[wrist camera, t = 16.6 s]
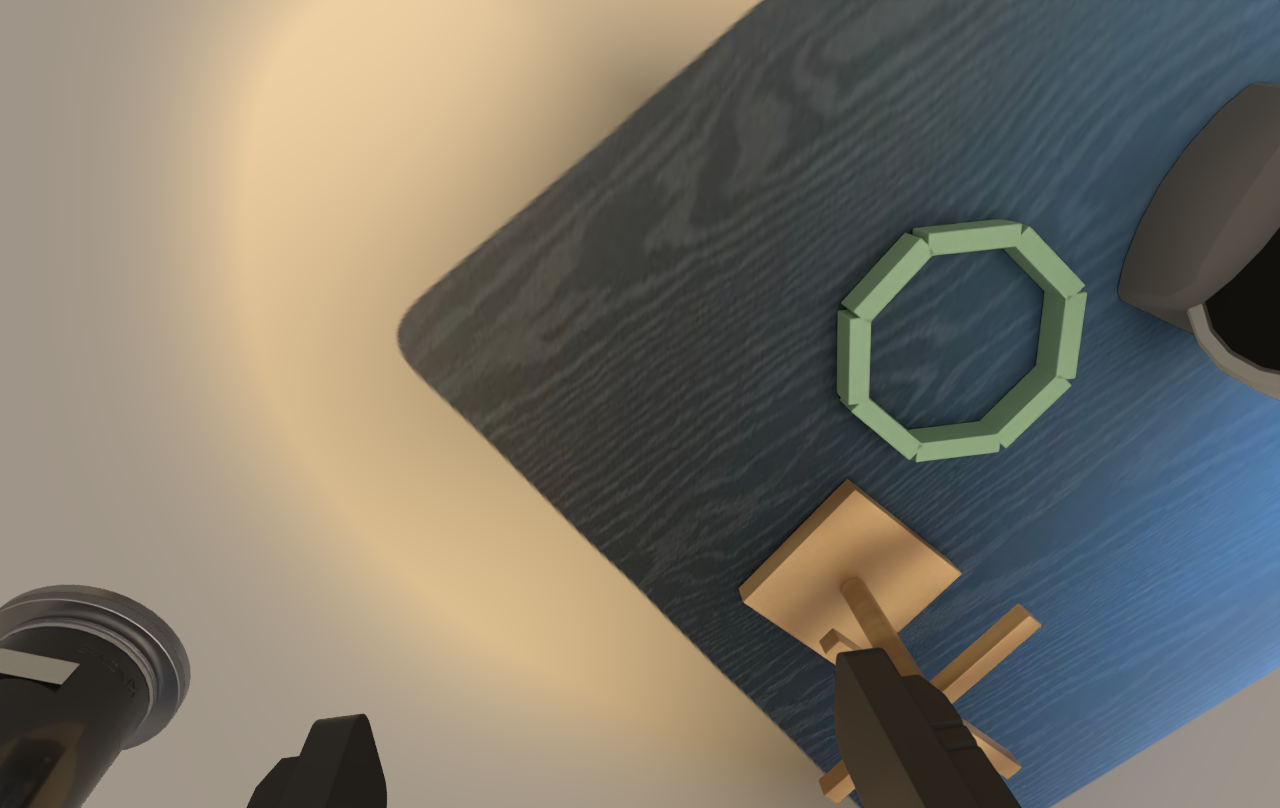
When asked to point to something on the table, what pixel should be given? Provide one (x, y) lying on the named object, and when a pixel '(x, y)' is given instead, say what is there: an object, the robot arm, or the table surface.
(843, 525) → the peg stand
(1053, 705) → the table surface
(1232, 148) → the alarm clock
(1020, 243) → the hoop
